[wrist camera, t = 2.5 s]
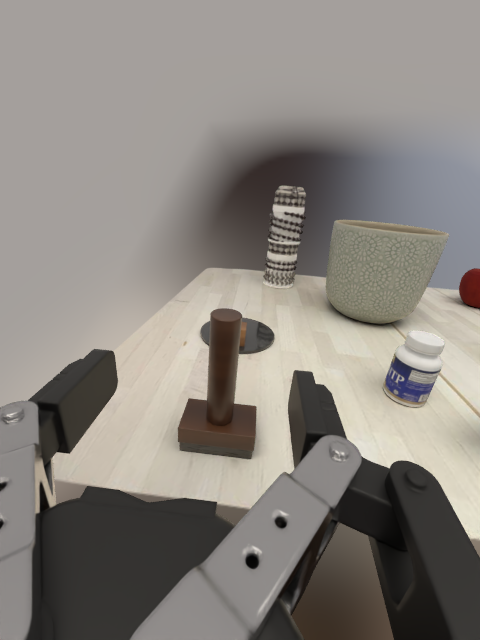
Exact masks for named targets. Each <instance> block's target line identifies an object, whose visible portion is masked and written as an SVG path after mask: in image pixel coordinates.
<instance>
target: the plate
mask: <svg viewBox="0 0 480 640" xmlns="http://www.w3.org/2000/svg"><path fill="white" fill-rule="evenodd" d="M242 322H247V328H246V337H245V345H244V347H242V346H239V354H248V353H255V352H259V351H262V350H265V349H267V348H268V347H270V346H271V345H272V344H273V342H274V333H273V331H272V330H271V329H270V328H269V327H268V326H266V325H265V324H263V323H261V322H258V321H255V320H252V319H248V318H242ZM201 338H202V339H203V341H204V342H205V343H206V344H208V345H209V342H210V321H209V322H207V323H205V324H204V325H203V326H202V328H201Z"/></svg>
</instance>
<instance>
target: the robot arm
mask: <svg viewBox="0 0 480 640" xmlns="http://www.w3.org/2000/svg"><path fill="white" fill-rule="evenodd" d="M117 384H118V378H117V370H116V362H115V355H114V352H113V351H109V350H99V349H94V350H92V351H91V352H90V353H89V354H88V355H87V356H86V357H85V358H84V359H79V360H77V361H75V362H73V363H71V364H69V365H68V366H67V367H66V368H64V369H63V370H62V371H61V372H60V374H58V375H57V376H56V377H54V378H53V380H51V381H50V382H48V383H47V384H46V385H45V386H44V387H43V388H42V389H40V390H39V391H38V392H37V393H36V394H35V395H34V396H33V397H32V398H30V399H29V400H28V401H19V402H14V403H10V404H8V405H5V406H3V407H1V408H0V640H304V638H303V636H302V634H301V633H300V631H299V629H298V628H297V626H296V624H295V622H294V620H293V619H292V617H291V615H292V613H293V612H294V610H295V608H296V606H297V604H298V602H299V601H300V599H301V597H302V595H303V593H304V591H305V589H306V586H307V585H308V583H309V580H310V578H311V576H312V573H313V571H314V569H315V567H316V565H317V563H318V561H319V560H320V558H321V556H322V554H323V552H324V551H325V549H326V547H327V545H328V543H329V541H330V540H331V538H332V536H333V534H334V532H335V531H336V529H337V527H338V525H339V523H342V524H344V525H346V526H348V527H351V528H353V529H355V530H357V531H359V532H362V533H364V534H366V535H368V537H369V541H370V545H371V549H372V553H373V557H374V561H375V565H376V569H377V573H378V577H379V581H380V585H381V589H382V593H383V597H384V600H385V605H386V609H387V613H388V617H389V621H390V625H391V629H392V633H393V637H394V640H480V557H479V556H478V554H477V552H476V550H475V549H474V546H473V545H472V543H471V541H470V539H469V537H468V535H467V534H466V532H465V530H464V528H463V526H462V524H461V522H460V521H459V519H458V517H457V515H456V513H455V511H454V510H453V508H452V506H451V504H450V502H449V500H448V498H447V497H446V495H445V493H444V491H443V489H442V487H441V486H440V484H439V482H438V481H437V480H436V478H435V477H434V476H433V475H432V474H431V473H430V472H428V471H427V470H426V469H424V468H423V467H421V466H419V465H417V464H415V463H412V462H409V461H396V462H394V463H393V464H392V465H391V467H390V469H389V468H387V467H384V466H381V465H379V464H376V463H373V462H371V461H369V460H367V459H365V458H363V457H362V456H361V454H360V452H359V450H358V449H357V447H356V446H355V445H354V444H353V443H351V442H350V441H349V440H347V438H346V435H345V432H344V429H343V426H342V423H341V420H340V417H339V414H338V412H337V408H336V405H335V404H334V399H333V396H332V393H331V392H330V391H329V390H328V389H327V388H326V387H325V386H324V385H320V384H315V380H314V376H313V373H312V372H308V371H298V370H295V371H294V373H293V379H292V384H291V390H290V395H289V402H288V415H289V424H290V433H291V442H292V451H293V460H294V470H293V472H292V473H291V474H287V473H286V472H284V473H282V474H281V475H280V476H279V477H278V478H277V479H276V480H275V482H274V483H273V484H272V485H271V486H270V487H269V488H268V490H267V491H266V492H265V493H264V494H263V495H262V496H261V498H260V499H259V500H258V501H257V502H256V503H255V504H254V506H253V507H252V508H251V509H250V510H249V511H248V513H247V514H246V515H245V516H244V517H243V518H242V519H241V521H240V522H239V523H238V524H237V525H234V524H233V523H232V522H230V521H229V520H228V519H226V518H224V517H223V516H221V515H218V514H216V508H217V502H212V501H204V500H196V499H188V498H181V499H174V500H166V501H159V502H150V503H149V502H145V501H143V500H141V499H138V498H136V497H134V496H131V495H129V494H127V493H125V492H122V491H120V490H115V489H107V488H99V487H91V486H87V488H86V489H85V491H84V493H83V494H82V496H81V497H80V498H76V499H72V500H68V501H65V502H62V503H59V504H57V505H56V498H55V484H54V469H53V461H52V457H53V456H54V454H55V453H56V452H61V453H69V454H70V452H71V451H72V450H73V448H74V447H75V446H76V444H77V443H78V442H79V440H80V439H81V438H82V436H83V435H84V433H85V432H86V431H87V429H88V428H89V427H90V425H91V424H92V423H93V421H94V420H95V419H96V417H97V416H98V415H99V413H100V412H101V411H102V409H103V408H104V407H105V405H106V404H107V403H108V401H109V400H110V399H111V397H112V396H113V395H114V393H115V391H116V388H117Z"/></svg>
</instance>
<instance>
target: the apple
mask: <svg viewBox="0 0 480 640" xmlns="http://www.w3.org/2000/svg"><path fill="white" fill-rule="evenodd" d="M459 293H460V297H461V299H462V300H463V302H464V303H465V304H467V305H470V306H473V307H477V308H480V269H472V270H469V271H468V272H466V273H465V275H464V276H463V277H462V279H461V282H460V286H459Z"/></svg>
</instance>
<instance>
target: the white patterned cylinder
mask: <svg viewBox="0 0 480 640" xmlns="http://www.w3.org/2000/svg"><path fill="white" fill-rule="evenodd" d="M275 195H276V196H275V203H274V205H273V211H274V212H273V213H271V214H270V217H271V218H272V219H271V220H270V221H269V223H270V225H271V226H272V227H271V228H269V232H270V234H269V235H268V237H269V238H268V240H269V241H270V244H269V251H268V255H267V256H268V257H267V258H266V261H267V263H266V264H265V266H266V267H267V268H266V269H265V270H264V273H265V275H264V276H263V277H264V279H265V280H264V281H263V283H264V284H265V285H267V286H270V287H274V288H282V289H285V288H291V287H292V286H293V283H292V282H294V278H293V277H294V276H295V272H294V271H293V270H295V269H296V267H295V264H296V263H297V261H296V258H297V247H298V244H300V240H301V239H300V238H299V234H302V233H303V232H302V231H301V230H300V228H302V227H303V226H304V225H303V224H302V223H301V220H304V219H305V218H306V217H305V216H304V215H302V214H304V213H305V212H304V204H305V198H306V194H305V192H304V189H303V188H302V187H294V186H280V187H279V188H278V190H277V191H276V193H275Z"/></svg>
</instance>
